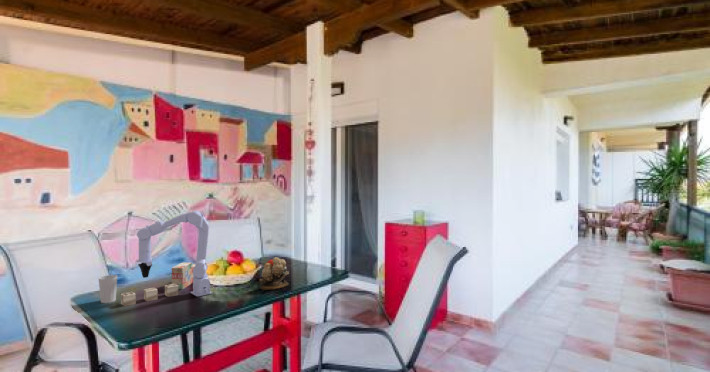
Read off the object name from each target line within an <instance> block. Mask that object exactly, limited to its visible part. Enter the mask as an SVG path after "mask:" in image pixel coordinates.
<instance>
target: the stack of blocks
mask: <svg viewBox="0 0 710 372" xmlns="http://www.w3.org/2000/svg"><path fill="white" fill-rule="evenodd" d="M195 264H196V263H193V262H191V261H190V262H181V263H178V264H177V265H174V266H172V267H171V284H176V285H178V290H184V289H186V288H187V287H188V286H190V285H191V284H192V285H193V276H194V275H193V269H194V268H195Z"/></svg>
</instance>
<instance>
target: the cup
mask: <svg viewBox="0 0 710 372" xmlns="http://www.w3.org/2000/svg"><path fill="white" fill-rule="evenodd" d="M117 285H118V275H117V274H109V275H103V276H100V277H98V286H99V294H100V303H101V304H107V303H108V304H109V303H112V302H115V301H117Z"/></svg>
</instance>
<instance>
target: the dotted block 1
mask: <svg viewBox="0 0 710 372" xmlns="http://www.w3.org/2000/svg"><path fill="white" fill-rule="evenodd" d="M136 297H137V296H136V293H135V292H133V291H129V292H124V293H121V294H120V299H121V300H120V301H121V302H120V304H121V305H122V307H126V306H133V305H136V304H137V301H136V300H137V298H136Z"/></svg>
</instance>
